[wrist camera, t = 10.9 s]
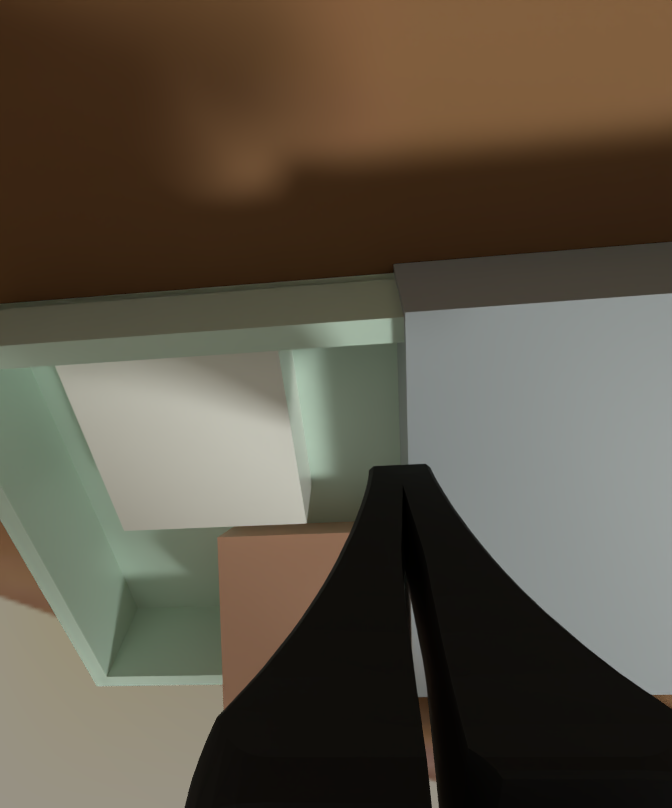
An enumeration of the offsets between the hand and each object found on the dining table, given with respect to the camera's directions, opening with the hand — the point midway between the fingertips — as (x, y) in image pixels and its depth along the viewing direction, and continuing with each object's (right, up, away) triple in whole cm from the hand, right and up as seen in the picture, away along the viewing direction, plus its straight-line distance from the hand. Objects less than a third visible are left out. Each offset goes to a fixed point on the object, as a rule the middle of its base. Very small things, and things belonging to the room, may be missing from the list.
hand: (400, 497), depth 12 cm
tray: (-5, 0, +6) cm, 8 cm away
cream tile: (-6, +1, +3) cm, 6 cm away
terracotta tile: (-2, -5, +6) cm, 8 cm away
